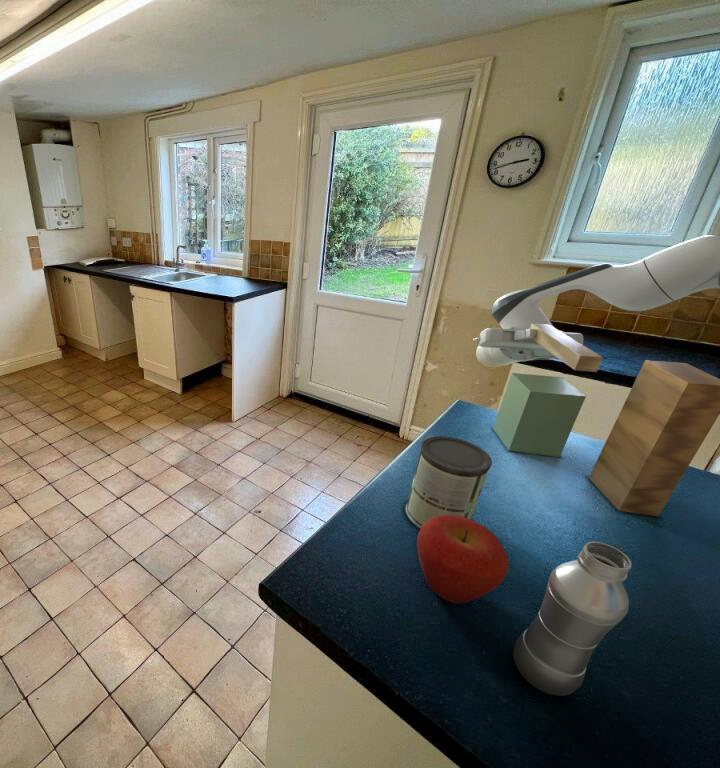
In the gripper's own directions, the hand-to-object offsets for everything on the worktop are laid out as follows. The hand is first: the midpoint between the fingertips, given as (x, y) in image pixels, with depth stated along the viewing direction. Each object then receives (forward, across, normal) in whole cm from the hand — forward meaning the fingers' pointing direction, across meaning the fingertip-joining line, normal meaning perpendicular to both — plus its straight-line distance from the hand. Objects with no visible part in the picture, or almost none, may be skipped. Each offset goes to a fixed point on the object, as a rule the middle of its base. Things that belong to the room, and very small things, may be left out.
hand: (546, 333), depth 92 cm
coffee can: (+22, -26, +41) cm, 53 cm away
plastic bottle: (+44, -20, +54) cm, 72 cm away
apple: (+35, -28, +49) cm, 66 cm away
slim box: (+5, 0, +5) cm, 7 cm away
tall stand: (+8, +10, +33) cm, 36 cm away
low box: (-6, 0, +25) cm, 25 cm away
